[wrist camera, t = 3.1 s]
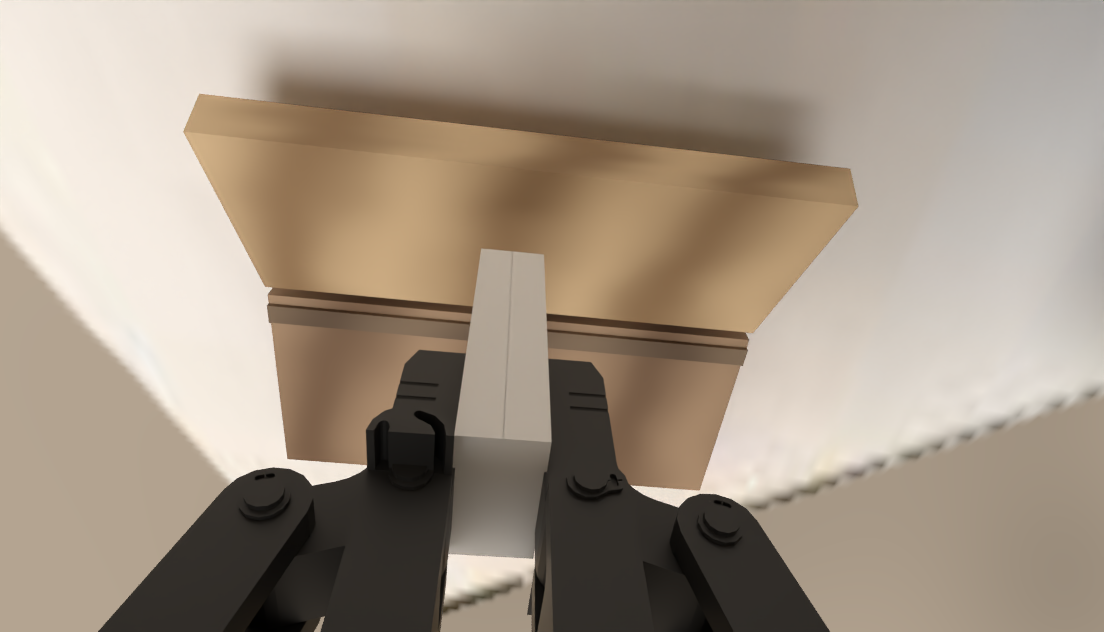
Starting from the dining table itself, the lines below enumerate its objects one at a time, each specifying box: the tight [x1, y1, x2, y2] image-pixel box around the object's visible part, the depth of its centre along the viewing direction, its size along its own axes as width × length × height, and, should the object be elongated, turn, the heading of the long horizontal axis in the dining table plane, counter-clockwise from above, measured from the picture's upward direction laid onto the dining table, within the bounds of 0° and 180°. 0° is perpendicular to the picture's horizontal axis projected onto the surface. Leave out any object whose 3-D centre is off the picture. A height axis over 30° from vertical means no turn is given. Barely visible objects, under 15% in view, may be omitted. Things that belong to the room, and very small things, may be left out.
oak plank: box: [183, 94, 858, 333], centre depth 24 cm, size 20×9×2 cm, turn 83°
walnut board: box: [267, 287, 749, 490], centre depth 30 cm, size 20×9×2 cm, turn 83°
